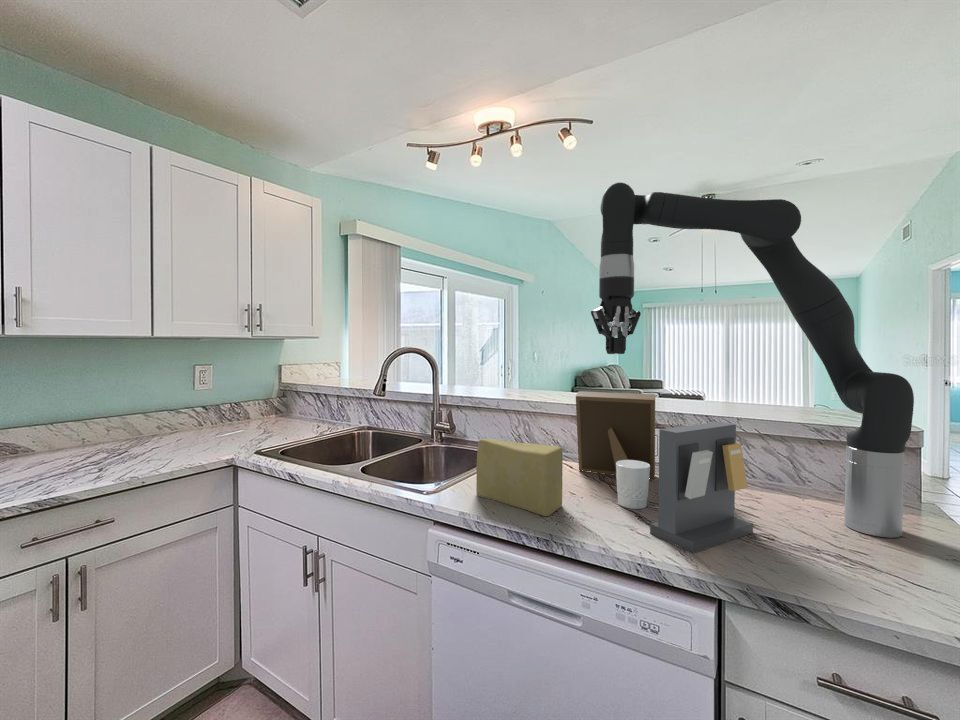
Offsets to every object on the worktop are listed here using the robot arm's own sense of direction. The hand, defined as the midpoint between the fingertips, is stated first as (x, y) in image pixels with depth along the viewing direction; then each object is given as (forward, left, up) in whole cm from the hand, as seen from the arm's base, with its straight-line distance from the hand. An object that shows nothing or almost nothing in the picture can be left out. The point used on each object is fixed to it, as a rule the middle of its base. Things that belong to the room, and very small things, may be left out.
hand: (615, 353), depth 102 cm
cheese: (+16, -18, -37) cm, 44 cm away
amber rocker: (-14, +20, -27) cm, 37 cm away
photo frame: (-21, -21, -37) cm, 48 cm away
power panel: (-9, +16, -37) cm, 41 cm away
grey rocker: (-3, +19, -28) cm, 33 cm away
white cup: (-9, -3, -37) cm, 38 cm away
